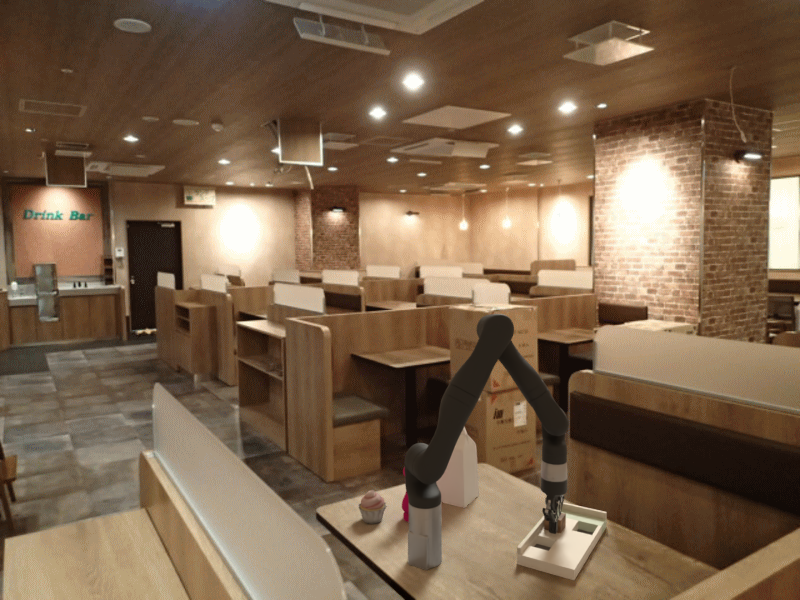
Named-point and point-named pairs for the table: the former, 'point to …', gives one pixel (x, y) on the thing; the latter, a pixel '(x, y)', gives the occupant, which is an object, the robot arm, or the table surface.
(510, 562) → the table surface
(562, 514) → the block
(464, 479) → the milk
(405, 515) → the pepper mill
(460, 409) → the robot arm
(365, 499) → the cupcake
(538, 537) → the tray
